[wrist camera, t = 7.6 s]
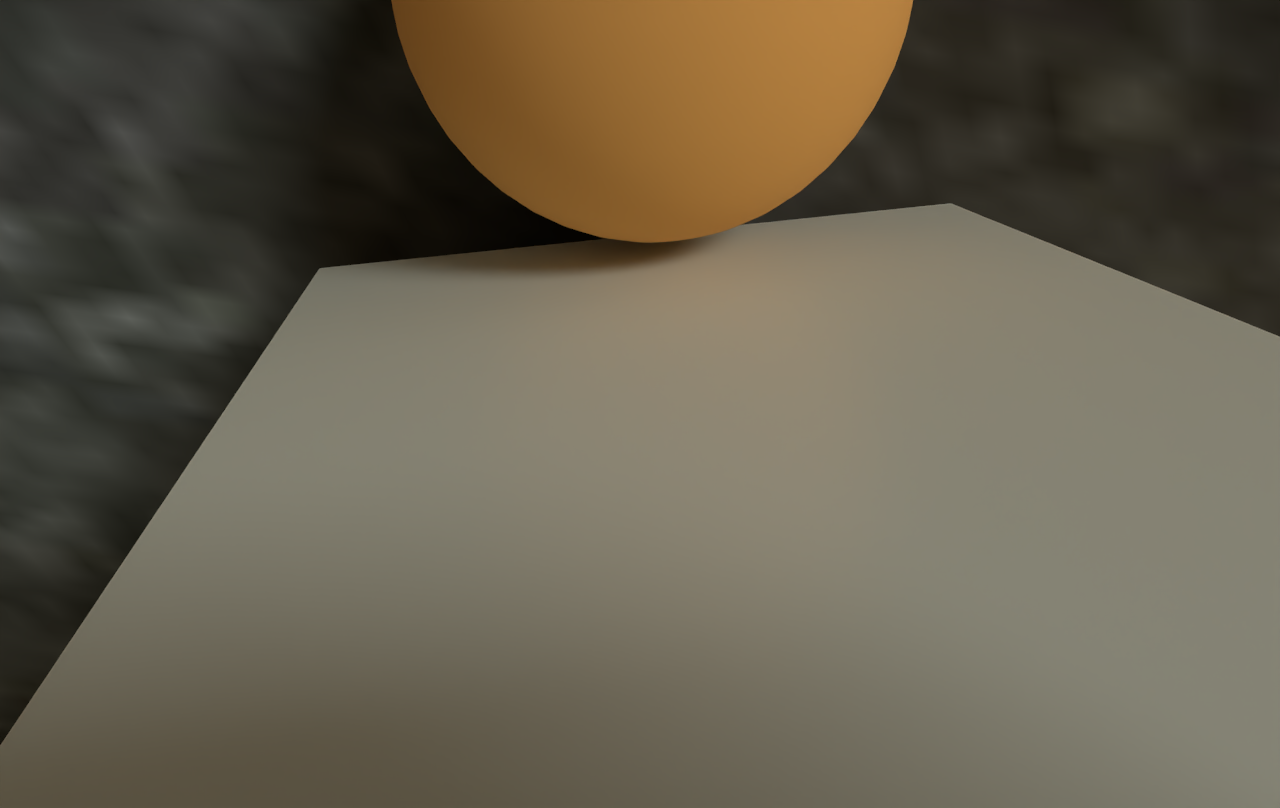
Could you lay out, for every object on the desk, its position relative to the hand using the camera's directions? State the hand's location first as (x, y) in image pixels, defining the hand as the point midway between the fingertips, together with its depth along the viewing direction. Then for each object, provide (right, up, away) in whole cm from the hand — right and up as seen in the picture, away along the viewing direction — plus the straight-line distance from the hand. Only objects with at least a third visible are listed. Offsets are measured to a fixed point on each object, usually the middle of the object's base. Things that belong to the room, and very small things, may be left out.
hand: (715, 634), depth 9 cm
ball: (-1, +7, -1) cm, 7 cm away
